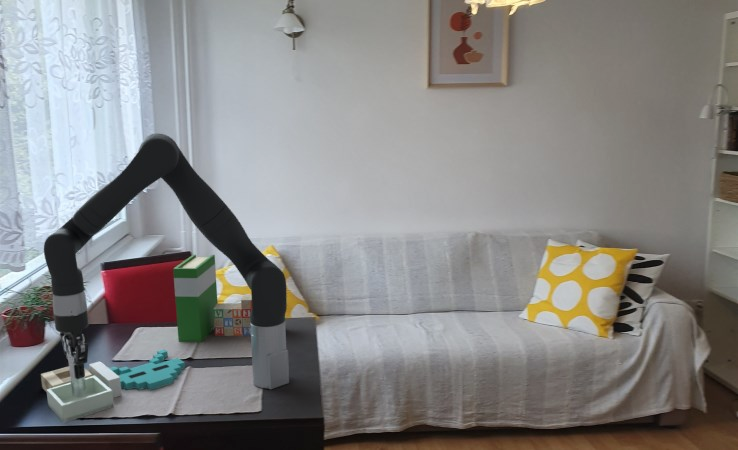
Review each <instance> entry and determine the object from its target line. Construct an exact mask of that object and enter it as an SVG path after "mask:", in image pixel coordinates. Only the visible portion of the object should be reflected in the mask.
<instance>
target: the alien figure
mask: <svg viewBox="0 0 738 450" xmlns="http://www.w3.org/2000/svg"><path fill="white" fill-rule="evenodd" d="M156 353H157V354H153V355H152V358H151V359H148V360H149V361H148V363H145V364H141V365H138V366H135V367H128V366H122V367H120V368H118V367H117V366H112V367H108V368H109V369H110V370H112V371H113V372H114V373H115V374H117V375H118V376H119V377H120V382H121V389H123V388H124V389H125V390H131V389H134V388H136V389H137V390H138V391H139V390H143V389H148V390H149V391H151V390H154V389H158V388H161V387H164V386H167V385H170V384H173V383H175V381H174V379H177V378H178V375H179V374H182V370H183V369H185V368H186V365H185V363H186V362H185V361H183V360H182V359H180V358H178V357H175V358H173V359H168V360H167V361H165V358H168V357H169V355H168V351H167V350H166V349H165V348H164V349H160V350H157V351H156Z"/></svg>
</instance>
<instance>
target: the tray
mask: <svg viewBox="0 0 738 450" xmlns="http://www.w3.org/2000/svg"><path fill="white" fill-rule="evenodd" d="M85 386H86V394H85V395H84V396H81V397H73V396H72V387H71V383H67V384H64V385H60V386H57V387H53V388H50V389H47V392H46V396H47V405H48V407H49V408H50V409H51V410H52V412H54V414H55V416H57V417H58V418H59V419H60V421H61V422H62V423H64V424H65V423H68V422H71V421H73V420H74V421H75V420H76V419H77V420H78V419H80V418H83V417H85V416H89V415H93V414H95V413H98V412H102V411H104V410H107V409H111V408H113V407H114V398H113V394H112V390H111V389H110V388H109V387H108V386H106V385H105V384H104V383H103V382H102V381H101V380H99V379H98V378H97V377H96V376H91V377H88V378H85Z"/></svg>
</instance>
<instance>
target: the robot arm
mask: <svg viewBox="0 0 738 450" xmlns="http://www.w3.org/2000/svg"><path fill="white" fill-rule="evenodd" d="M159 179H162V180H163V181H164V182H165V183H166V184H167V186H168V187H169V188H170V189H171V190H172V192H173V193H174V194H175V196H176V197H177V199H178V201H179V202H180V205H181V206H182V208H183V209H184V211H185V214H187V216H188V217H189V219H190V220H191V222H192V223H193V225H194V226H195V227H196V229H198V231H199V232H200V233H201V234H202V235H203V237H204V238H206V240H208V242H209V243H210V244H211V245H212V246H214V247H215V249H217V250H218V251H219V252H221V253H222V254H223V255H224V256H225V257H226V258H228V260H230V261H231V263H232V264H233V265H234V267H235V268H236V269H237V271H238V272H239V274H240V275H241V277H242V278H243V279H244V281H245V284H246V285H247V287H248V288H249V290H251V291H250V292H251V295H252V311H251V312H250V326H251V335H250V343H251V363H252V364H251V365H252V379H253V385H255V386H256V387H257V388H262V389H269V390H273V389H277V388H278V387H282V386H285V385H286V384H289V383H290V371H289V366H290V365H289V350H288V349H287V336H286V312H287V305H288V304H287V301H288V300H287V297H288V296H287V281H286V276H285V273H284V272H283V270H282V269H281V268H279V266H278V265H276V264H275V263H274V262H272V260H270V259H269V258H268V257H267V256H266V255H265V254H264V253H263V252H262V251H261V250H260V249H259V248H258V247H257V246H256V245H255V244H254V243H253V242H252V240H251V238H250V237H249V236H248V235H249V234H247V232H246V230H245V229H244V226H243V225H242V223H241V222H240V221H239V219H238V218H237V216H236V215H235V213H234V212H233V211H232V210H231V209H230V208H229V206H228V205H227V204H226V203H225V202H224V200H223V199H222V198H221V197H220V196H219V195H218V194H217V193H216V191H214V190H213V189H212V187H211V186H210V185H209V184H208V183H207V182H206V181H205V180H204V179H203V178H202V177H201V176H200V175H199V174H198V173H197V172H196V170H195V169H194V168H193V167H192V165H191V163H190V162H189V161H188V159H187V158H186V157H185V155H184V153H183V152H182V151H181V148H180V147H179V146H178V144H177V143H176V141H175V140H174V139H173V137H170V136H169V135H166V134H164V133H160V132H159V133H151V134H149V135H147V136H146V137H145V138H143V140H142V142H141V143H140V145H139V148H138V151H137V153H136V154H135V156H133V158H132V159H131V161H130V162H129V163H128V164H127V166H126V167H125V168H124V169H123V171H121V172H120V174H118V175H117V176H116V177H114V179H113V180H111V181H110V182H109V183H107V184H106V185H104V186H103V187H102V188H101V189H99V190H98V191H97V192H96V193H94V194H93V195H92V196H91V197H90V198H88V200H87V201H85V202H84V203H83V204H82V205H81V206H79V208H78V209H77V210H76V212H75V213H73V216H72V217H70V219H69V220H67V221H66V222H65V223H64V224H63V225H62V226H61V227H60V228H58V229H57V230H56V231H54V232H53V233H51V234H50V235H48V237H46V239H45V241H44V244H43V253H44V259H45V263H46V266H47V268H48V269H47V270H48V272H49V274H50V280H51V282H50V283H51V291H52V311H53V319H54V328H55V330H56V331H57V332H58V333H59V336H60V340H61V345H62V350H63V353H64V355H65V356H66V359H67V360H68V353H69V354H70V356H72V359H73V364H74V373H75V378H76V379H80V378H83V377H85V371H84V368H85V364H86V363H88V356H89V352H88V351H89V344H88V342H86V343H85V341H86V340H85V339H86V338H85V335H84V334H83V333H82V332H83V330H84V329H87V327H89V325H90V324H89V323H90V322H89V313H88V304H87V303H88V302H87V301H88V300H87V297H86V293H85V286H84V276H83V272H82V270H81V269H80V268H79V267H78V261H77V256H76V255H77V253H79V252H80V250H81V249H82V248H83V247H85V246H86V245H87V243H88V242H89V241H90V240H91V239H92V238H93V237H94V235H96V234H98V233H99V232H101V230H103V229H104V228H105V227H106V226H107V225H108V224H109V223H110V222H111V221H112V220H113V219H114V218H115V217H117V215H118V214H119V213H120V212H121V211H122V210H123V209H124V208H125V207H126V206H127V205H129V203H130V202H131V201H132V200H134V198H136V197H137V196H138V195H139V194H140V193H142V192H143V191H144V190H145V189H147V188H148V187H149V186H151V185H152V184H153V183H155V182H157V181H159ZM73 351H76V352H73ZM79 358H81V359H79Z"/></svg>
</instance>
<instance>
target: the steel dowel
mask: <svg viewBox="0 0 738 450" xmlns="http://www.w3.org/2000/svg"><path fill="white" fill-rule="evenodd" d="M73 352H76V351H73ZM79 359H81V358H79ZM67 360H68V366H69V370H70V379H71V387H72V396H73V397H81V396H84V395H85V394H86V386H85V377H83V378H80V379H76V378H75V373H74V364H73V359H72V356H70V354H69V353H68V359H67Z"/></svg>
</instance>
